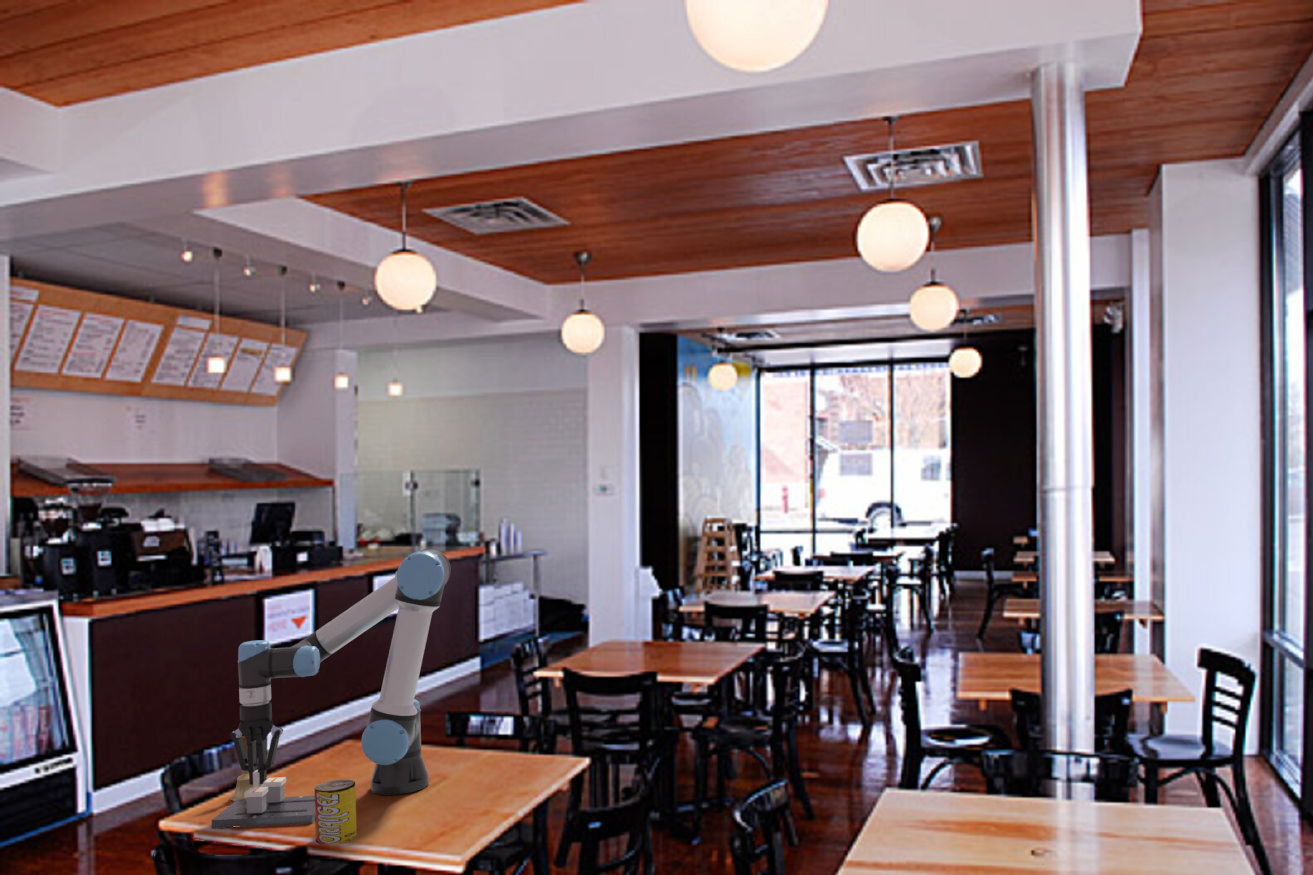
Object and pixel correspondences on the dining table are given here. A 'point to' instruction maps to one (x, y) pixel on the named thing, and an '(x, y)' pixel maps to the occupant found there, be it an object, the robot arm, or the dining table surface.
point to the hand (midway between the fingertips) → (258, 796)
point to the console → (268, 813)
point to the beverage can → (335, 811)
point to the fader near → (256, 799)
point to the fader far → (275, 789)
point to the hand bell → (242, 780)
